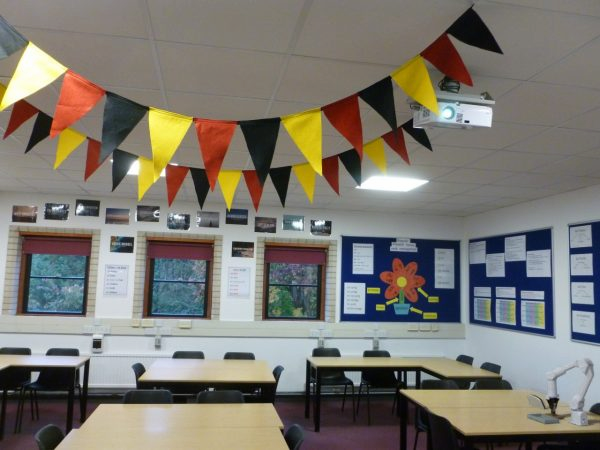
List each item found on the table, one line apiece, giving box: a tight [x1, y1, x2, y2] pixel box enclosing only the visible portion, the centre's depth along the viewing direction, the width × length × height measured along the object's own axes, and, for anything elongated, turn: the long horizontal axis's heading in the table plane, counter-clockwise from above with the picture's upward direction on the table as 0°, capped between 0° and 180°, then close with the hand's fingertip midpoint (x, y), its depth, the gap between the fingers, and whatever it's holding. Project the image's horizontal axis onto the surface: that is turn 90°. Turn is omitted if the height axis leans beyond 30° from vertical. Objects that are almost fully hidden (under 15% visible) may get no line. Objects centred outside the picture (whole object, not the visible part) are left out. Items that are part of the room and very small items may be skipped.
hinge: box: [526, 393, 550, 410], centre depth 370 cm, size 17×5×10 cm, turn 10°
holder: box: [544, 412, 565, 421], centre depth 337 cm, size 9×9×2 cm
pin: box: [550, 403, 557, 414], centre depth 338 cm, size 4×4×7 cm
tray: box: [526, 412, 560, 425], centre depth 330 cm, size 16×12×2 cm
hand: (553, 408), depth 338 cm, fingers closed on pin, 4 cm apart
